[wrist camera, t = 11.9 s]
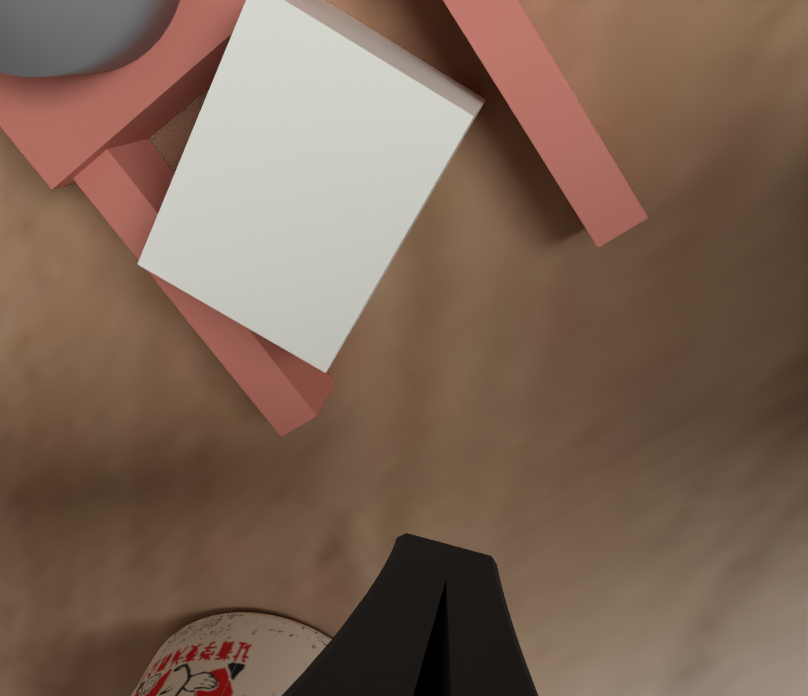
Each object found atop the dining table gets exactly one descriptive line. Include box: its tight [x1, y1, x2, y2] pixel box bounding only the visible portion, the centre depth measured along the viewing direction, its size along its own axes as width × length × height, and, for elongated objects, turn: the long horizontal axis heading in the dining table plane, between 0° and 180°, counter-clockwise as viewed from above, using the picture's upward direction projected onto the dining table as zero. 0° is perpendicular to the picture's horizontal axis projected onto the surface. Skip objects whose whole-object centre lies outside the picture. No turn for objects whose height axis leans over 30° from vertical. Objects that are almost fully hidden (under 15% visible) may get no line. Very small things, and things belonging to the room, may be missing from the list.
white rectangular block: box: [138, 0, 486, 373], centre depth 16 cm, size 4×6×4 cm
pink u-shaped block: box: [0, 0, 648, 437], centre depth 15 cm, size 14×11×4 cm
